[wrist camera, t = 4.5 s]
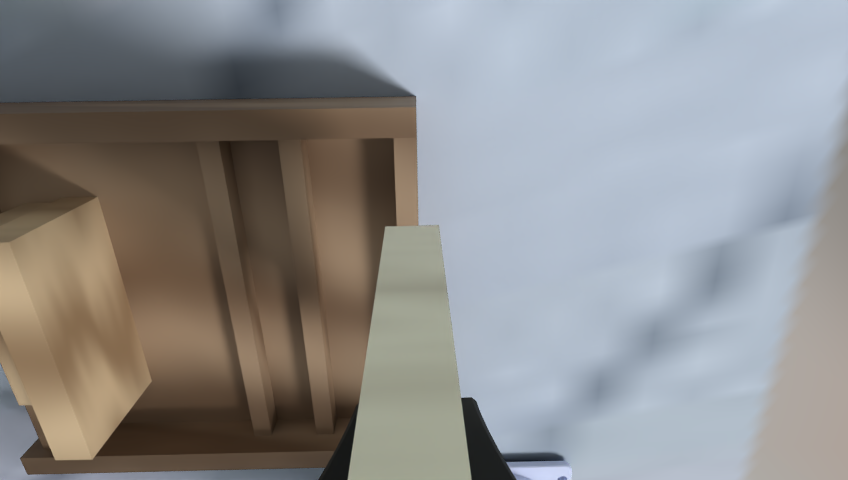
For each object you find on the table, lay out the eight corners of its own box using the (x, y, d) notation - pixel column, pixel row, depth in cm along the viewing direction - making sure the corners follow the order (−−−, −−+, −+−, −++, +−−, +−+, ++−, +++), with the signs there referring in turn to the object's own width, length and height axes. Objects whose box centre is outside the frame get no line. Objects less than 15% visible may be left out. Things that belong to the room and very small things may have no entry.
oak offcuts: (151, 381, 22) (92, 459, 18) (89, 382, 22) (15, 461, 18) (98, 196, 19) (9, 242, 15) (23, 197, 19) (-87, 244, 15)
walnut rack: (421, 417, 25) (422, 465, 22) (70, 425, 25) (27, 474, 22) (415, 96, 19) (416, 107, 16) (-56, 103, 18) (-139, 115, 16)
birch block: (440, 440, 17) (467, 838, 8) (397, 441, 17) (381, 841, 8) (438, 225, 14) (477, 525, 5) (385, 226, 14) (340, 529, 5)
